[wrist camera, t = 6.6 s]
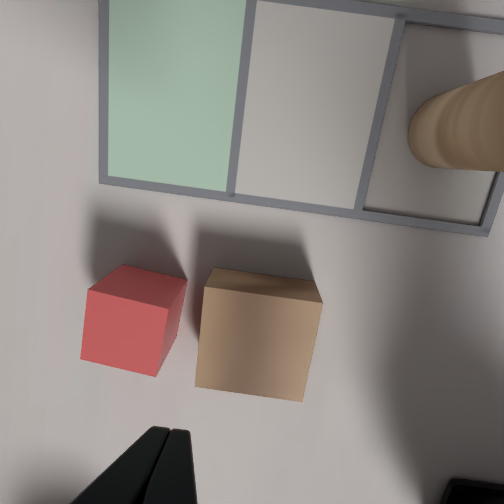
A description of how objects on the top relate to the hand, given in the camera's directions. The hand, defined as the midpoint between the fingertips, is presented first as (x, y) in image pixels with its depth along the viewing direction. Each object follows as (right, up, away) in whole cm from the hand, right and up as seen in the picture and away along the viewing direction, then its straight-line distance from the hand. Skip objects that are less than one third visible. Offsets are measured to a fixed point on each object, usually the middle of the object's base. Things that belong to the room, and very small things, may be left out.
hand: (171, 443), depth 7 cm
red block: (-3, 0, +11) cm, 12 cm away
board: (+5, +11, +10) cm, 15 cm away
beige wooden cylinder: (+12, +10, +10) cm, 18 cm away
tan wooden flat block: (+2, 0, +13) cm, 13 cm away
